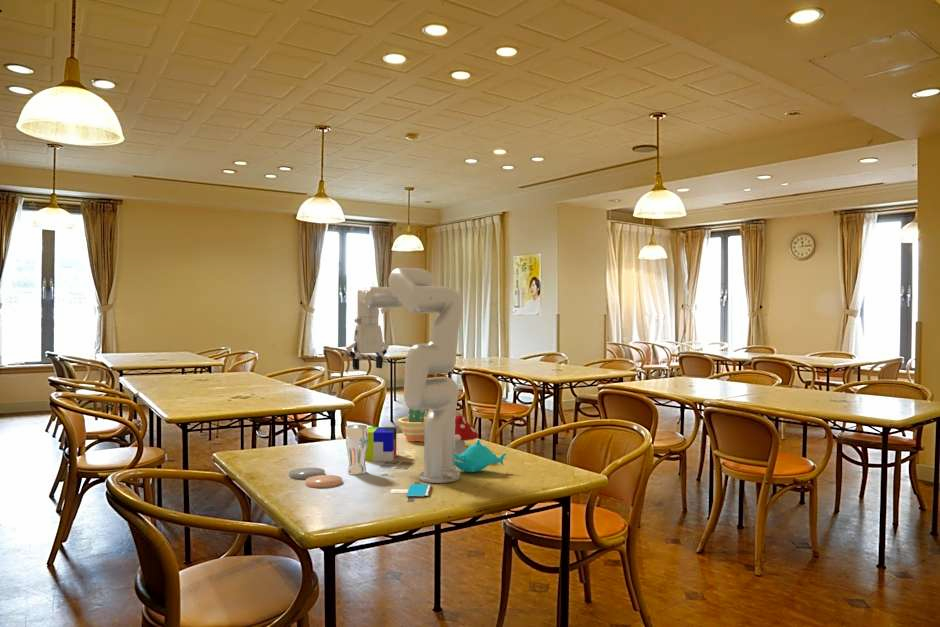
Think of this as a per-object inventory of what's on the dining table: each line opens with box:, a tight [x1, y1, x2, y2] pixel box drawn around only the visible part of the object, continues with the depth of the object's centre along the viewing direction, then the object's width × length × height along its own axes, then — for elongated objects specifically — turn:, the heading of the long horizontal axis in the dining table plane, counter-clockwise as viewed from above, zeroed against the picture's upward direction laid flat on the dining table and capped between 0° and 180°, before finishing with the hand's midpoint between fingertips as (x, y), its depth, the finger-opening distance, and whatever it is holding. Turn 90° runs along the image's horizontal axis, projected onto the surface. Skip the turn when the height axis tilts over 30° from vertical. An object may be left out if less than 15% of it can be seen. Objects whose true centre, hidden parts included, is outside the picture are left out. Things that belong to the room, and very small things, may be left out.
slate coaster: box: [288, 467, 326, 480], centre depth 210 cm, size 11×11×1 cm
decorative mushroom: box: [455, 414, 480, 455], centre depth 237 cm, size 14×14×15 cm
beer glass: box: [345, 424, 368, 476], centre depth 213 cm, size 7×7×15 cm
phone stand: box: [389, 481, 432, 503], centre depth 192 cm, size 20×12×2 cm, turn 179°
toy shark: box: [455, 438, 507, 473], centre depth 215 cm, size 10×18×11 cm, turn 91°
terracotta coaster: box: [304, 474, 343, 489], centre depth 201 cm, size 11×11×1 cm
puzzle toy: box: [365, 426, 397, 462], centre depth 235 cm, size 10×10×10 cm
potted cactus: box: [397, 408, 426, 442], centre depth 267 cm, size 15×15×25 cm
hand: (367, 368), depth 241 cm, fingers open, 9 cm apart
